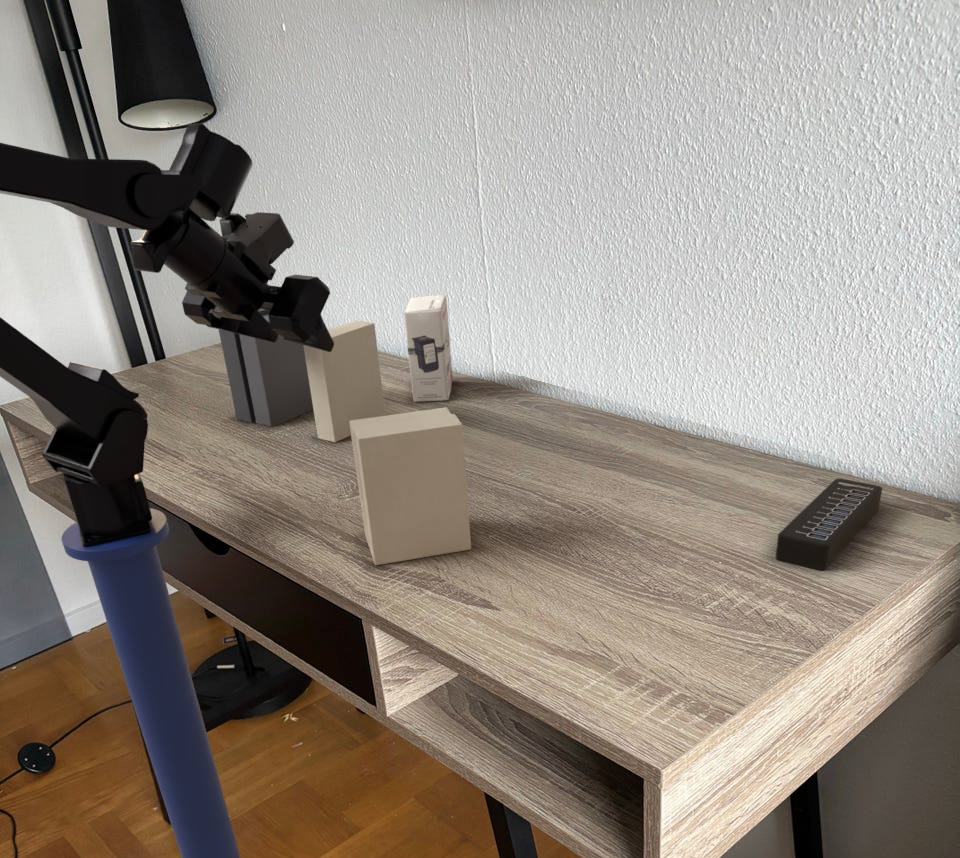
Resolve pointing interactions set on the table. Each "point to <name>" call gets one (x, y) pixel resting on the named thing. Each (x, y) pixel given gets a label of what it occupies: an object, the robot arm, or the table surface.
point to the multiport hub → (828, 524)
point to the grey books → (266, 377)
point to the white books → (412, 484)
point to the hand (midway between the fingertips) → (303, 343)
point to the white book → (345, 380)
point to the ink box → (429, 348)
